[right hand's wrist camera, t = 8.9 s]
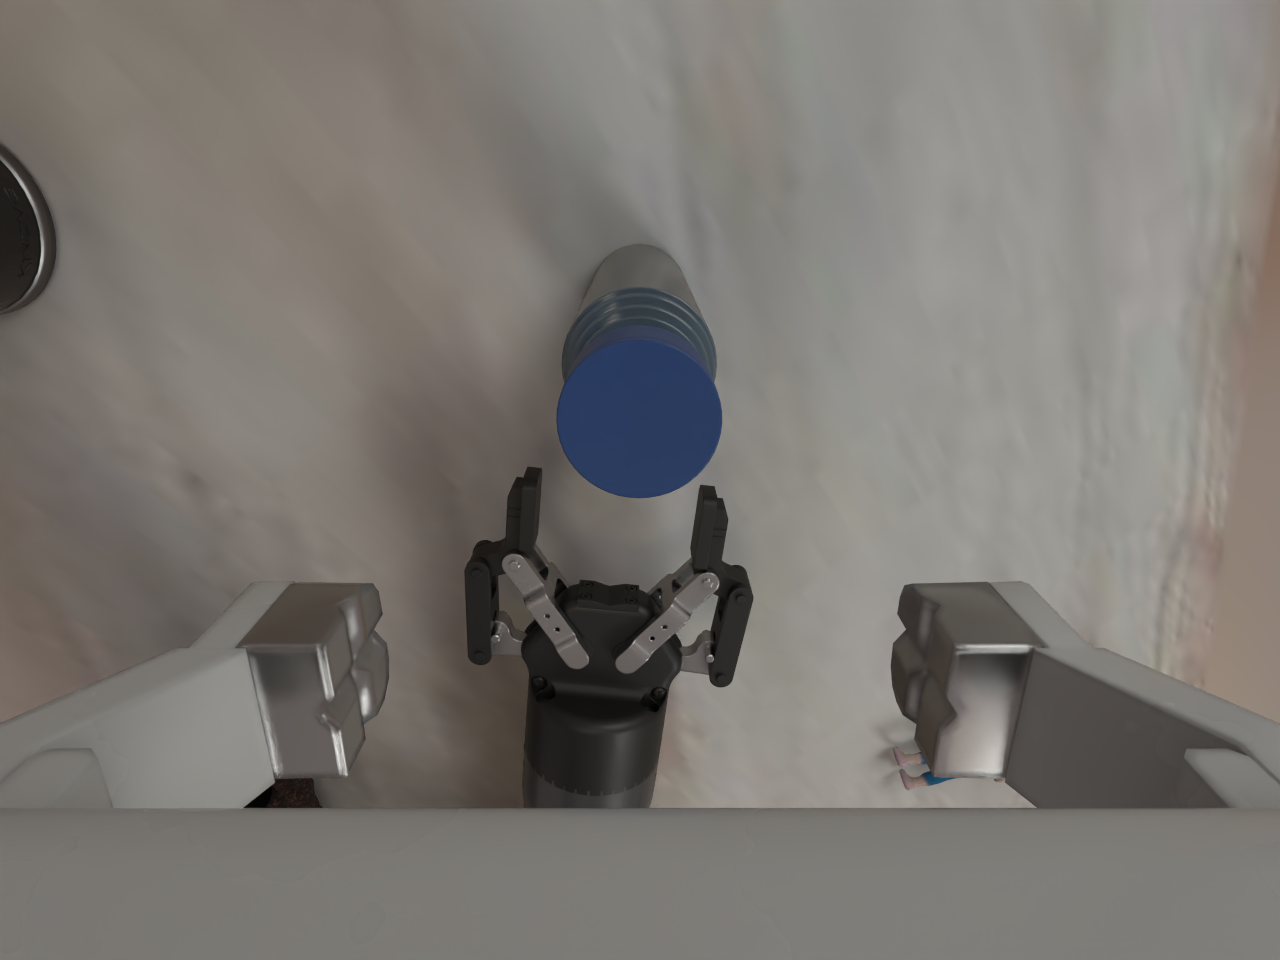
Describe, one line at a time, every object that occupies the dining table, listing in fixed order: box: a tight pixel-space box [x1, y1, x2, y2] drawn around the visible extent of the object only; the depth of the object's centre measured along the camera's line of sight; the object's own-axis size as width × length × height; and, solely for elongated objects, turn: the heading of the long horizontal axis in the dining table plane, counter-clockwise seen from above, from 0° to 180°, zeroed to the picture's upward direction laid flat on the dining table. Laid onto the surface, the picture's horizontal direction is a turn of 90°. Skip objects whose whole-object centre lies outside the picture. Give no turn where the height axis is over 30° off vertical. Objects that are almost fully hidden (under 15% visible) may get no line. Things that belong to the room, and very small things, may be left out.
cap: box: [557, 325, 722, 498], centre depth 20 cm, size 4×4×2 cm
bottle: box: [562, 244, 717, 383], centre depth 30 cm, size 5×5×22 cm
